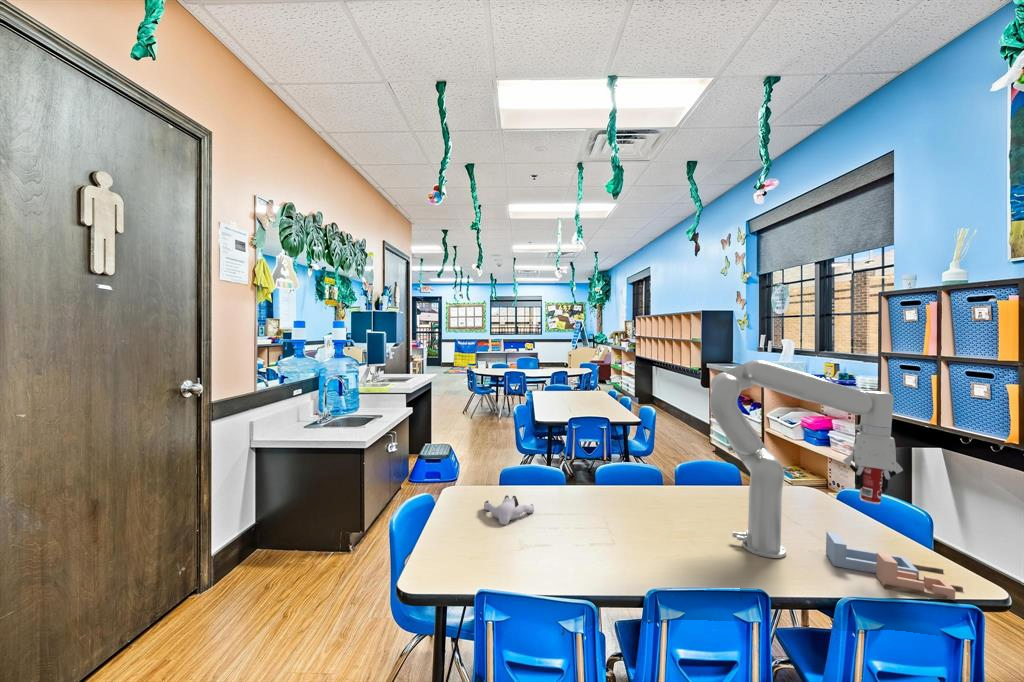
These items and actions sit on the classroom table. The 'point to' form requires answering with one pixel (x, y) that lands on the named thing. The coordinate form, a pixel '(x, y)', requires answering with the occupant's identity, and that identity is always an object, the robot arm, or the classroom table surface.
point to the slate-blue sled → (859, 556)
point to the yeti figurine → (508, 509)
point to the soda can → (871, 485)
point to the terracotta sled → (896, 574)
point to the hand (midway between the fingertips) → (870, 488)
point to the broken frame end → (940, 587)
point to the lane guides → (923, 581)
